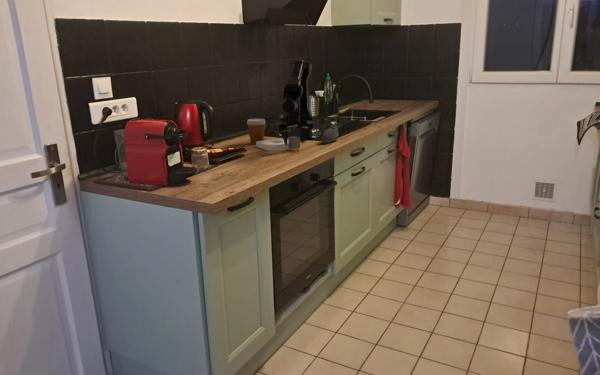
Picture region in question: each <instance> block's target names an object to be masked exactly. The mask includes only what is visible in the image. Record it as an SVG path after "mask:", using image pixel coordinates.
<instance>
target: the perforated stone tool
mask: <svg viewBox="0 0 600 375" xmlns="http://www.w3.org/2000/svg"><path fill="white" fill-rule="evenodd" d="M339 135H340V134H339V128H338V127H337V126H334V127H333V126H332V127H330V128H326V130H324V131H323V132H322V134H321V136H320V137H321V138H320V140H321V142H322V143H323V144H329V143H334V142H335V141H337V140H338V138H339Z"/></svg>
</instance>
